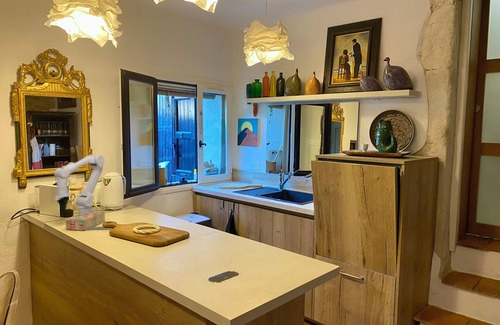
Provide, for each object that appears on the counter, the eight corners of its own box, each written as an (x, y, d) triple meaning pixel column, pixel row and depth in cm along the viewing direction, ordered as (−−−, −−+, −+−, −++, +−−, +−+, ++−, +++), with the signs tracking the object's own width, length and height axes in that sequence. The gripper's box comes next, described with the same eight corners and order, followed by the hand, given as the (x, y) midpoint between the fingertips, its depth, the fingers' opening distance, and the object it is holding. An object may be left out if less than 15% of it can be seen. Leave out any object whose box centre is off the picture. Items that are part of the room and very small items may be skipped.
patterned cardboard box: (105, 221, 236) (88, 220, 238) (105, 212, 235) (88, 211, 238) (83, 230, 215) (65, 229, 217) (83, 219, 214) (65, 219, 217)
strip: (80, 227, 222) (80, 227, 222) (114, 226, 223) (114, 226, 223) (76, 230, 216) (76, 230, 216) (111, 229, 218) (111, 228, 217)
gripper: (63, 189, 216) (64, 212, 217) (74, 186, 230) (75, 207, 232) (51, 189, 216) (52, 212, 217) (63, 186, 230) (64, 207, 232)
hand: (63, 209), depth 224 cm, fingers closed
